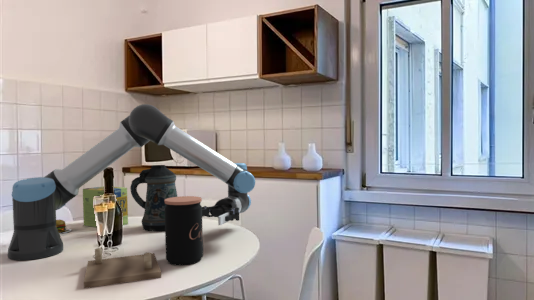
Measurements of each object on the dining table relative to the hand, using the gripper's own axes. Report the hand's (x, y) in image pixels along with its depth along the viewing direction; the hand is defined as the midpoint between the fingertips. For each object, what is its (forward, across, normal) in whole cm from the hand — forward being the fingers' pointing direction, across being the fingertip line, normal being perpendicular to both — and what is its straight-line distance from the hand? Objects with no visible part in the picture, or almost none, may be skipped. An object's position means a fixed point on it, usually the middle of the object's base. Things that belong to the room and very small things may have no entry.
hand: (199, 219), depth 124 cm
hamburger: (-9, +66, -11) cm, 68 cm away
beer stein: (-26, +32, -10) cm, 42 cm away
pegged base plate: (+22, +11, -10) cm, 27 cm away
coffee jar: (+9, 0, -10) cm, 14 cm away
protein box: (-25, +57, -10) cm, 63 cm away
